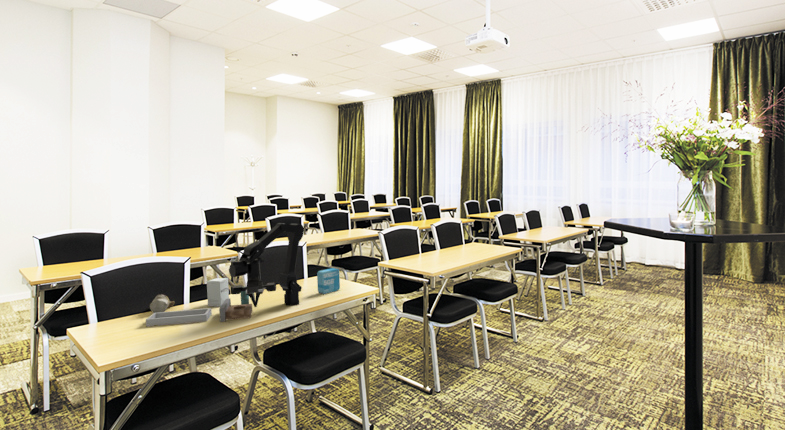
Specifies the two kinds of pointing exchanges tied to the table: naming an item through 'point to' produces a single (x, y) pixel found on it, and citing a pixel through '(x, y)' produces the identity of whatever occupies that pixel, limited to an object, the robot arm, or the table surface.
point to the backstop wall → (224, 309)
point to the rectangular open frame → (179, 317)
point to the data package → (328, 280)
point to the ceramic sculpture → (160, 303)
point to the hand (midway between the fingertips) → (255, 306)
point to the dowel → (244, 298)
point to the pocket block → (239, 311)
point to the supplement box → (217, 291)
